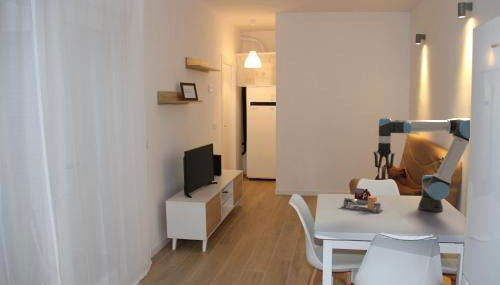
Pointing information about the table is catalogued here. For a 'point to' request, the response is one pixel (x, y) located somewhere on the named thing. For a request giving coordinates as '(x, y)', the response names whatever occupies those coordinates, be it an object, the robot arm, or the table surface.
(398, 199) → the table surface
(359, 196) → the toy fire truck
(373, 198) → the collar
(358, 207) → the rail
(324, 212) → the table surface
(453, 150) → the robot arm
